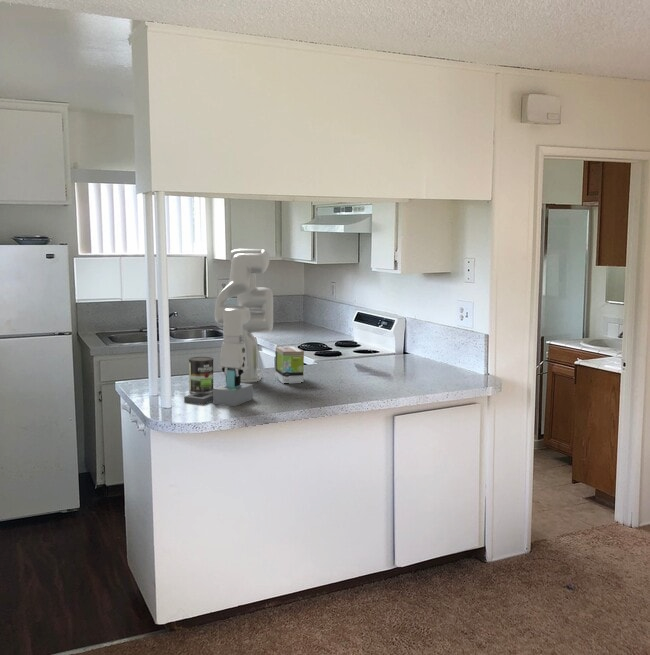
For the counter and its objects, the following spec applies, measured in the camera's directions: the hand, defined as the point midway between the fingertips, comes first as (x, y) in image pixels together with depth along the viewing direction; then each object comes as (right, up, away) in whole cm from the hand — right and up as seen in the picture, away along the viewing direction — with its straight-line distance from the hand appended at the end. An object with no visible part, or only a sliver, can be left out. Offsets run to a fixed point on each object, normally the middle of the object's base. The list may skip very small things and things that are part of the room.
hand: (233, 384), depth 283 cm
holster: (-13, -7, +1) cm, 15 cm away
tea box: (+20, -2, +42) cm, 47 cm away
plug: (0, -3, 0) cm, 3 cm away
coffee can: (-16, -4, +17) cm, 24 cm away
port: (0, -7, +1) cm, 7 cm away
